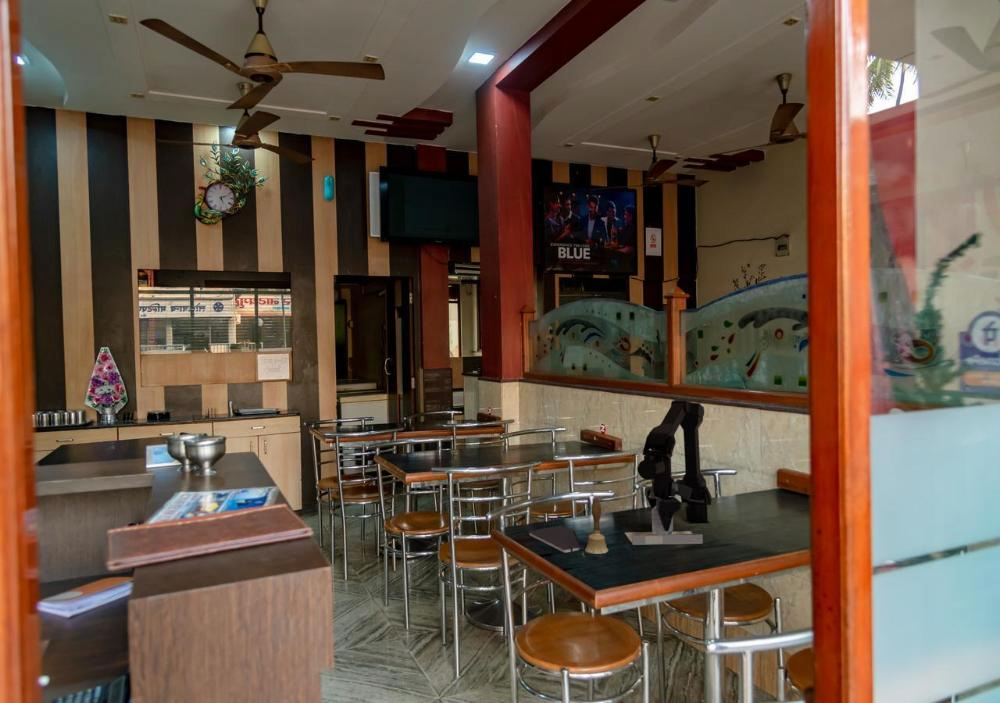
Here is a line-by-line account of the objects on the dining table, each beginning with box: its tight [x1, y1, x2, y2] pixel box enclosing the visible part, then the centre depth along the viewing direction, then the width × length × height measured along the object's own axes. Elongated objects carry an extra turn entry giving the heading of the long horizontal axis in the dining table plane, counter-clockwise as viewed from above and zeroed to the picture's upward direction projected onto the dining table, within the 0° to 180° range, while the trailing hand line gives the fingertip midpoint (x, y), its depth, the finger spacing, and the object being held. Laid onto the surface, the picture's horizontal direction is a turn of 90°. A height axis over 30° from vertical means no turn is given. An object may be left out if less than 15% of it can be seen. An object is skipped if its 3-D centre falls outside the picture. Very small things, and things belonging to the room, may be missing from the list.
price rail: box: [631, 533, 704, 546], centre depth 179 cm, size 20×1×2 cm, turn 90°
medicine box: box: [651, 505, 674, 535], centre depth 184 cm, size 8×4×9 cm, turn 152°
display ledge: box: [624, 530, 700, 546], centre depth 184 cm, size 20×12×2 cm, turn 90°
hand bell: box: [581, 497, 609, 558], centre depth 175 cm, size 8×8×16 cm
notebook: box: [528, 525, 583, 553], centre depth 189 cm, size 13×2×21 cm
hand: (662, 526), depth 184 cm, fingers closed on medicine box, 9 cm apart
